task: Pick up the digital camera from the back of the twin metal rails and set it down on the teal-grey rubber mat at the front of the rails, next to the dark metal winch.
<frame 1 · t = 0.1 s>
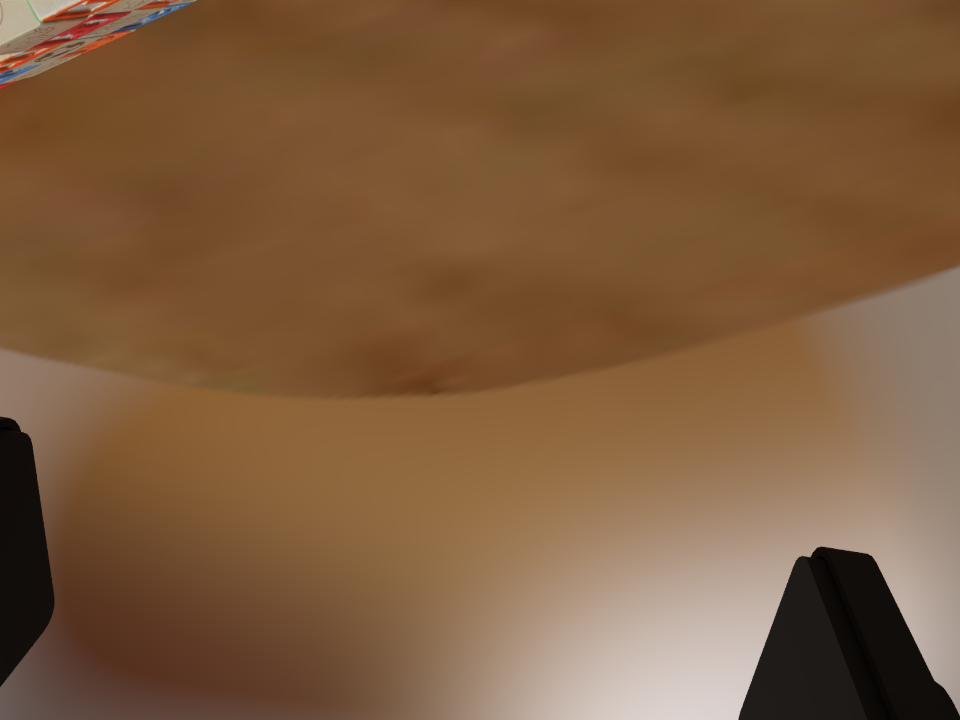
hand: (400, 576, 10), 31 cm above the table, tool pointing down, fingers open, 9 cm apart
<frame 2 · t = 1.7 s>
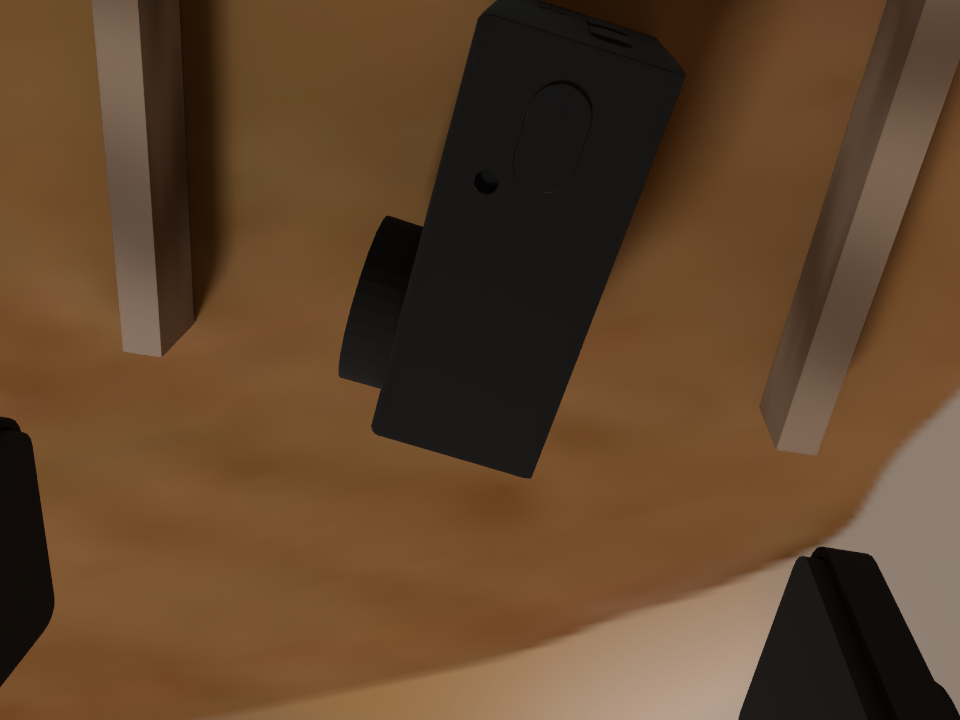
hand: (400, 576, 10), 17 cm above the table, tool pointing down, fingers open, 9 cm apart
digital camera: (506, 182, 25), on the table
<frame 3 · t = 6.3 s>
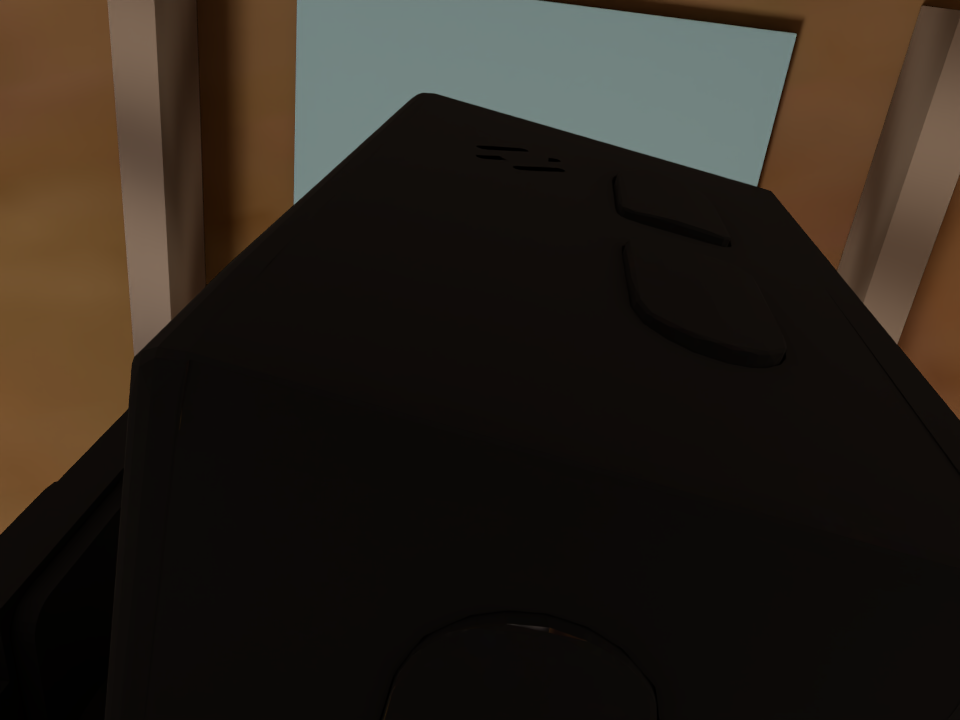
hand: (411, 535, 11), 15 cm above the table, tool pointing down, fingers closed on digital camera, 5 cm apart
twin metal rails: (493, 373, 27), on the table
digital camera: (442, 467, 12), point 14 cm above the table, touching gripper
front mat: (516, 205, 24), on the table
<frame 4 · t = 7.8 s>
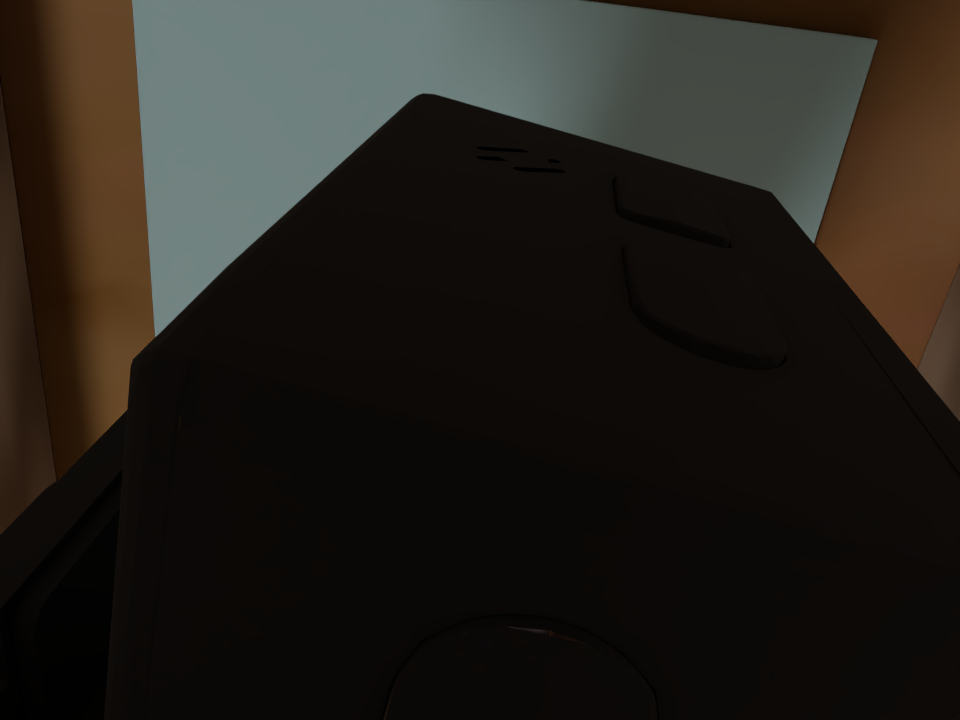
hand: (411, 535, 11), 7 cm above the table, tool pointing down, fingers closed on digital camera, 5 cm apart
twin metal rails: (439, 496, 20), on the table
digital camera: (442, 468, 12), point 6 cm above the table, touching gripper
front mat: (465, 279, 17), on the table
when the fingers open (3 cm above the table, at t = 9.1 s): digital camera drops 1 cm, resting on front mat.
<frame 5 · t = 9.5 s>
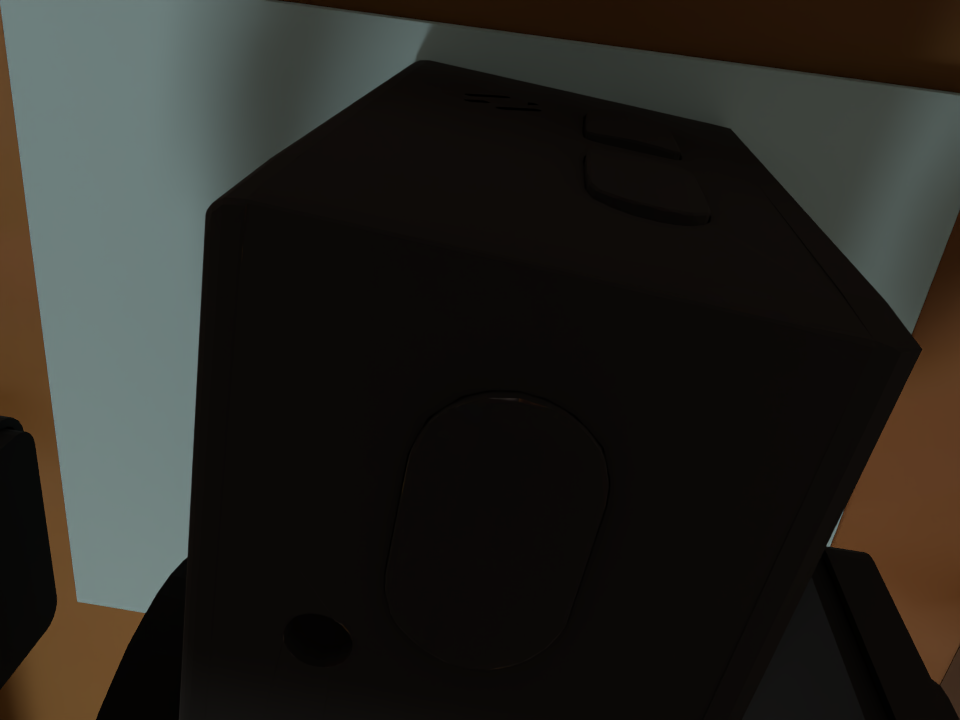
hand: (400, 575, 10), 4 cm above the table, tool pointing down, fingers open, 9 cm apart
twin metal rails: (418, 645, 16), on the table
digital camera: (456, 403, 13), resting on front mat
front mat: (446, 393, 13), on the table
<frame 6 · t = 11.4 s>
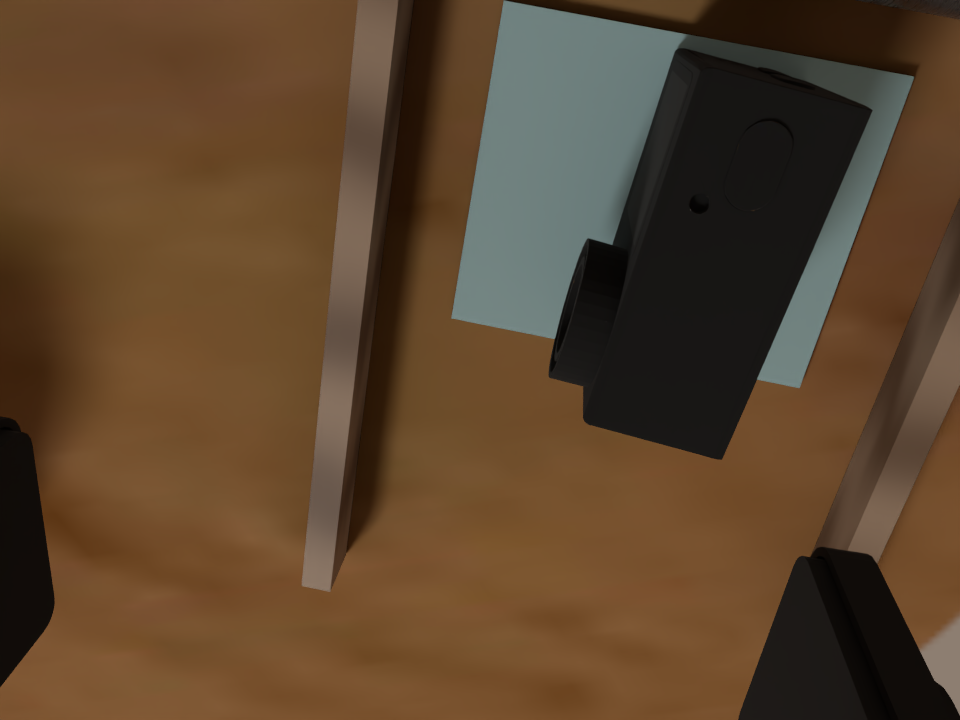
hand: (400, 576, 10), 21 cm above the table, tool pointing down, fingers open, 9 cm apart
twin metal rails: (623, 349, 31), on the table
digital camera: (669, 209, 29), resting on front mat
front mat: (661, 206, 29), on the table
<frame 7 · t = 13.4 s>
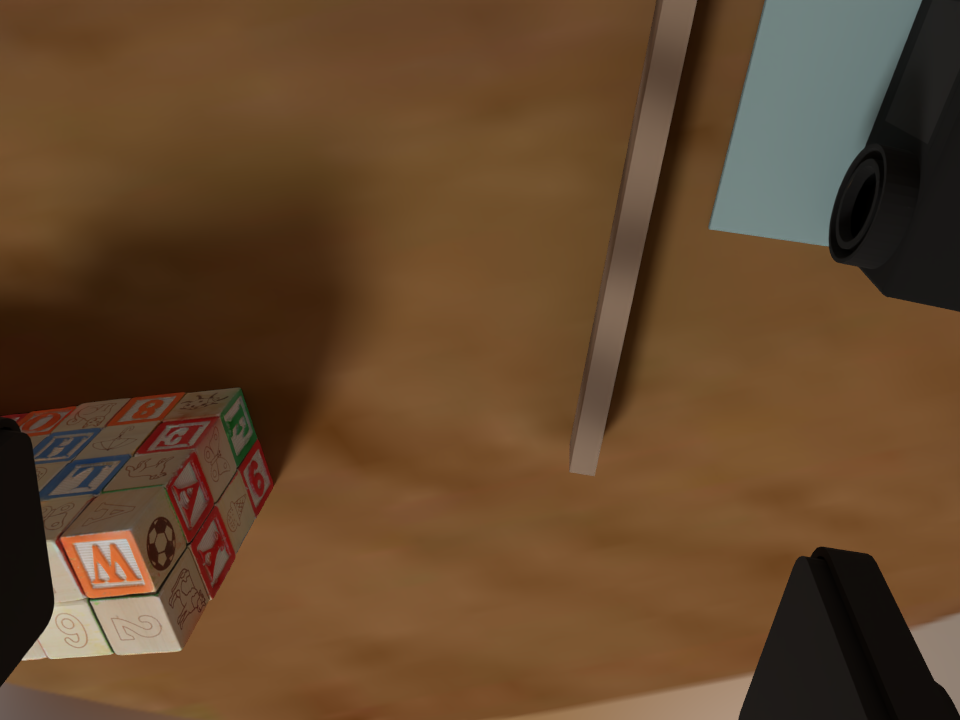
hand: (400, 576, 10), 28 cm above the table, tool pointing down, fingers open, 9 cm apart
twin metal rails: (858, 248, 36), on the table
stack of blocks: (80, 453, 46), on the table
digital camera: (911, 121, 34), resting on front mat
front mat: (901, 119, 34), on the table
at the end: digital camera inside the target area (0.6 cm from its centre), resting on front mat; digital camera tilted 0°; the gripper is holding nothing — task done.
